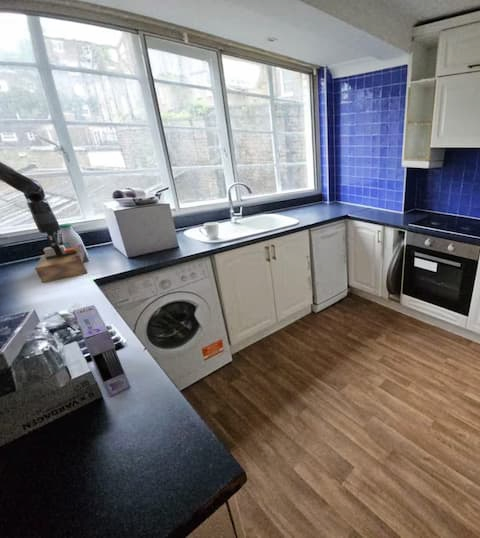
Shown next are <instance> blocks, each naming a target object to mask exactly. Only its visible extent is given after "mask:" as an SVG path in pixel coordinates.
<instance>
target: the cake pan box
mask: <svg viewBox="0 0 480 538" xmlns="http://www.w3.org/2000/svg"><path fill="white" fill-rule="evenodd" d="M72 314H73V317H74V319H75V321H76V322H75V323H76V324H77V326H78V329H79V332H80V334H81V337H82V340H83V342H84V344H85V347H86V349H87V351H88V353H89V356H90V358H91V360H92V363H93V365H94V367H95V370H96V372H97V374H98V376H99V379H100V380H101V383H102V384H103V386H104V388H105V390H106V393H107V394H108V396H109V397H110V398H112V397H114V396H115V395H118V394H119V393H121V392H123V391H125V390H127V389H130V388H131V384H130V382H129V379H128V377H127V375H126V372H125V370H124V368H123V366H122V363H121V361H120V358H119V356H118V353H117V350H116V345H115V342H114V340H113V338H112V335H111V334H110V331H109V329H108V327H107V325H106V323H105V321H104V320H103V318H102V316H101V315H100V312H99V311H98V309H97V307H96V306H95V304H92V305H87V306H84V307H80V308H76V309H73V311H72Z"/></svg>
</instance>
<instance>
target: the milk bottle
mask: <svg viewBox="0 0 480 538" xmlns="http://www.w3.org/2000/svg"><path fill="white" fill-rule="evenodd" d="M59 226H60V228H61V229H60V230H61V232H62V234H61V240H62V241H61V242H62V245H64V246H65V248H66V249H69V248H75V249H78V245H80V244H82V245H83V247H84V250H85V252H86V254H87V257H88V258H89V257H90V256H89V253H88V250H87V249H86V246H85V244H84V242H83V240H82V237H81V236H80V235H79V233H77V232H76V231H75V230H74V229H73V225H72V224H71V223H69V222H67V223H62V224H59Z"/></svg>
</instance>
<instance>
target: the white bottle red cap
mask: <svg viewBox="0 0 480 538" xmlns="http://www.w3.org/2000/svg"><path fill="white" fill-rule="evenodd" d="M59 246H60V249H61V251H62V253H63V255H60V256H57V255H56V253H55V251H54V249H53V248H51V246H47V247H44V248H43V252H44V255H45V254H46V257H45V258H46V259H51V258H56V257H62V256H67V255H73V254H76V252H77V251H76V250H75V248H69V249H66V248H65V246H64V244H62V245H59Z"/></svg>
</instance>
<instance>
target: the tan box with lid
mask: <svg viewBox="0 0 480 538" xmlns="http://www.w3.org/2000/svg"><path fill="white" fill-rule="evenodd" d="M75 250H76V251H77V252H76V254H73V255H67V256H62V257H56V258H51V259H46V258H45V257H46V254H45V253H44V254H42V255H41V257H40V259H39V260H38V262H37V264H36V265H35V268H34V269H35V271H36V273H37V275H38V277H39V279H40V282H41V283H43V284H44V283H48V282H54V281H58V280H63V279H67V278H72V277H76V275H77V276H81V275H80V274H82V275H85V273H86V274H88V273H87V272H88V270H87V268H86V265H85V264H84V263H86V262H89V261H90V259H89V257H87V254H86V252H85V250H84V247H83V245H82V244H80V245H78V249H75ZM71 276H72V277H71Z"/></svg>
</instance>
